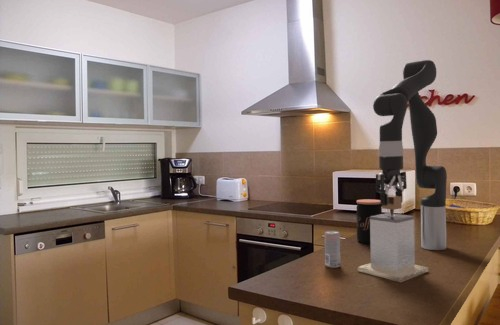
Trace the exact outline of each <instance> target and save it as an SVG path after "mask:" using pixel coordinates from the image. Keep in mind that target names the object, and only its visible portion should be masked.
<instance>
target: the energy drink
mask: <svg viewBox="0 0 500 325" xmlns="http://www.w3.org/2000/svg"><path fill="white" fill-rule="evenodd" d="M324 265H325V267H326V268H332V269H333V268H339V267H341V233H340V231H338V230H326V231H325V232H324Z"/></svg>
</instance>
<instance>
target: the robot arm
mask: <svg viewBox="0 0 500 325" xmlns="http://www.w3.org/2000/svg"><path fill="white" fill-rule="evenodd" d="M402 77H403V79H402V80H400V81H398V82H397V83H396V84H395V85H393V87H392V88H390V89H387V90H386V91H383V92H382V93H380V94H378V95H377V96H376V98H375V99H374V101H373V103H372V104H373V105H372V108H373V112H374V113H375V115H377V116H380V117H391V116H393V117H392V118H391V120H390V121H389V122H385V123H382V124H380V126H379V146H378V156H379V157H378V161H379V162H378V166H379V170H381V171H382V173H376V174H375V193H379V194H380V195H379V196H380V199H379V200H381V201H380V202H381V204H380V205H381V206H382V205H384V206H386V205H388V193H389V191H390V189H391V188H392V187H393V188H394V190H395V193H394V196H401V204H402V203H403V192H404V190H407V188H408V187H407V172H406V171H401V170H403V169H404V145H403V125H404V121H405V116H406V114H407V110H409V118H410V119H409V120H410V128H411V136H412V142H413V149H414V162H415V163H414V164H415V165H414V166H415V179H416V180H415V181H416V184H417V186H418V187H419V188H420V189H432V190H434V193H432V194H431V195H428V196H424V197H422V198H421V199H420V240H421V241H420V242H421V243H420V244H421V246H420V247H421V249H424V250H429V251H443V250H446V249H447V218H446V217H447V216H446V215H447V214H446V213H447V212H446V211H447V210H446V209H447V208H446V205H447V204H446V201H447V183H448V182H447V181H448V180H447V178H448V177H447V176H448V174H447V170H446V167H445V166H441V165H427V155H428V153H429V151H430V149H431V148H432V146H433V144H434V143H435V142H436V138H437V136H438V126H437V119H436V116H435V114H434V113H433V111H432V110H431V108H429V106H428V105H427V104H426V103H425V102H424V100H423V99H422V98H421V96H420V94H419V92H420V91H422V90H423V89H425V88H426V87H428V86H429V85H432V84H433V83H434V82H435V80H436V78H437V67H436V64H435V62H434V61H432V60H429V59H427V60H425V59H424V60H418V61H417V60H416V61H411V62H408V63H405V64H404V66H403V70H402Z"/></svg>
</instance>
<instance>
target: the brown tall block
mask: <svg viewBox="0 0 500 325" xmlns="http://www.w3.org/2000/svg"><path fill="white" fill-rule="evenodd" d="M381 207H382V209H384V210H389V213H390V217H394V214H395V210H400V209H402V203H401V196H395V195H393V194H392V195H391V194H389V195H388V205H386V206H384V205H381Z"/></svg>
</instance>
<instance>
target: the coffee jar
mask: <svg viewBox="0 0 500 325" xmlns="http://www.w3.org/2000/svg"><path fill="white" fill-rule="evenodd" d="M380 201H381V200H380V199H371V198H370V199H369V198H367V199H365V198H364V199H357V200H356V204H357V205H356V239H357V241H358V242H359V243H360V244H361V243H362V244H366V245H370V216H375V215H380V214H383V213H382V212H383V210H382V209H383V208H382V205H381V202H380Z"/></svg>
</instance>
